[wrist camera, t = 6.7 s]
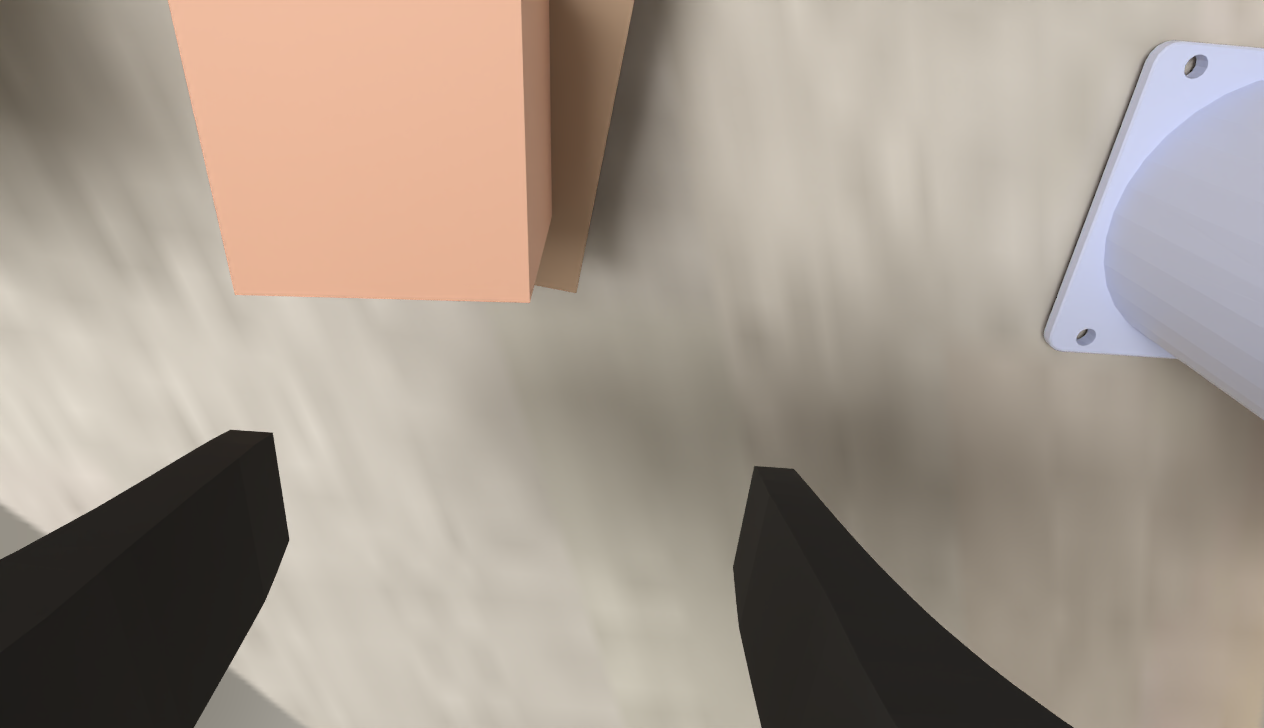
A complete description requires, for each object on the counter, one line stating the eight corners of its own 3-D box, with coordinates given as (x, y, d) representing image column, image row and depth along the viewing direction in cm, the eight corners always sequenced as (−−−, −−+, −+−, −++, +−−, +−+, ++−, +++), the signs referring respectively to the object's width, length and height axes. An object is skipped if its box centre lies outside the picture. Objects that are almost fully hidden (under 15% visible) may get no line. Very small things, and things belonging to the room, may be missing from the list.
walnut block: (640, -61, 17) (647, -67, 13) (583, 234, 20) (576, 293, 16) (319, -142, 16) (235, -171, 12) (313, 179, 19) (244, 229, 16)
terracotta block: (549, -28, 14) (520, -24, 10) (552, 216, 16) (530, 302, 12) (295, -38, 13) (159, -38, 9) (332, 209, 16) (235, 294, 12)
